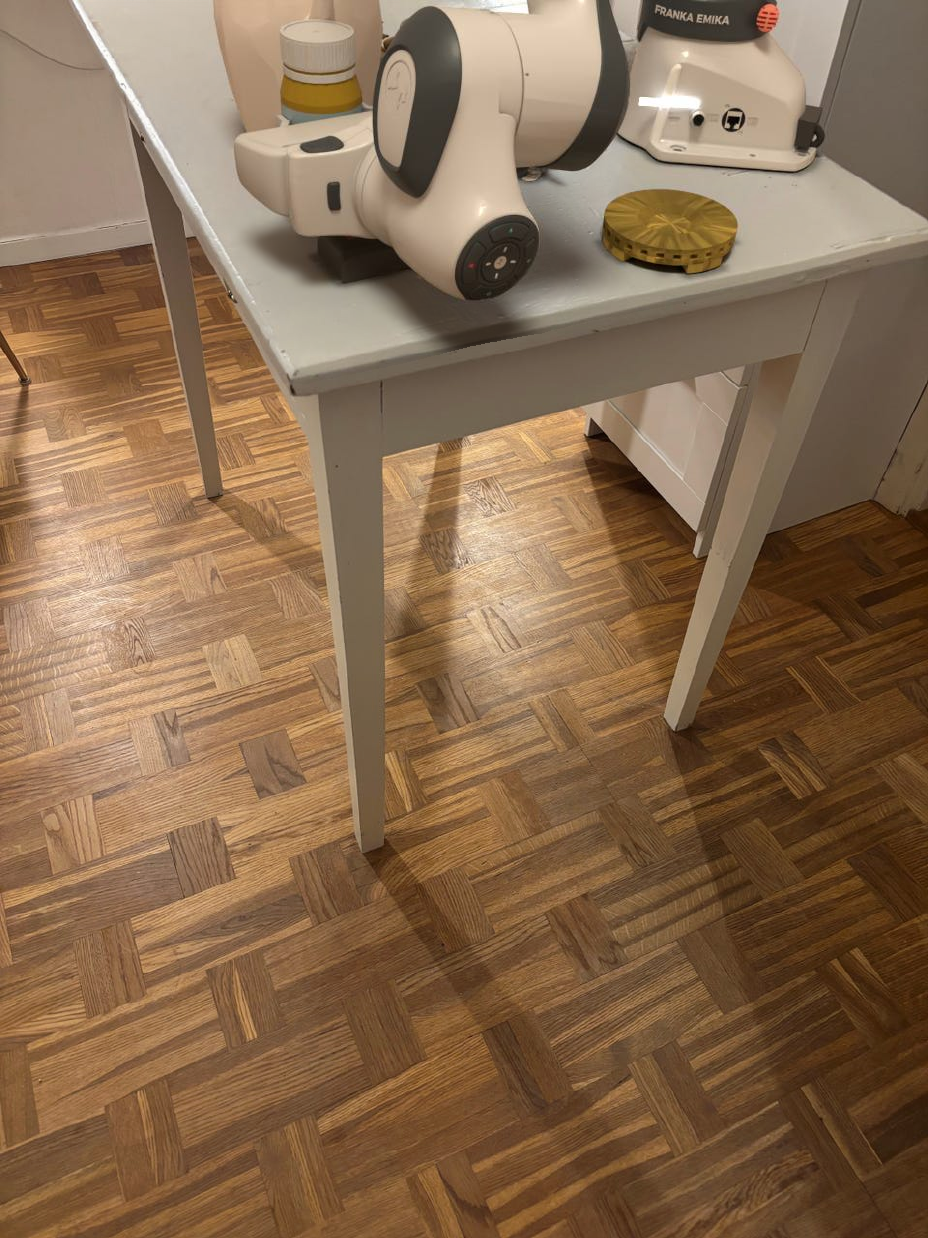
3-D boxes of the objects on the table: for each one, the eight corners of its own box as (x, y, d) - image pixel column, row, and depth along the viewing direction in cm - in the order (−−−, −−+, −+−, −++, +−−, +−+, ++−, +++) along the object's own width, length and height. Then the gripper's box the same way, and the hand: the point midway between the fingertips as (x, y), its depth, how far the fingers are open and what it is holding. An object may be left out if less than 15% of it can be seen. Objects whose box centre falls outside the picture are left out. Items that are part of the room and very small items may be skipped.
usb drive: (317, 256, 83) (315, 226, 81) (436, 229, 87) (437, 199, 85) (343, 283, 80) (341, 252, 78) (465, 253, 84) (466, 223, 82)
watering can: (260, 214, 88) (232, -24, 74) (214, 109, 105) (184, -102, 91) (420, 197, 92) (421, -33, 78) (351, 98, 109) (342, -106, 95)
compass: (618, 203, 92) (621, 180, 91) (741, 224, 90) (746, 201, 88) (587, 258, 85) (590, 235, 83) (720, 283, 82) (726, 260, 81)
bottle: (328, 188, 92) (317, 12, 81) (381, 210, 90) (377, 31, 78) (275, 211, 89) (256, 29, 78) (329, 235, 86) (316, 50, 75)
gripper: (504, 114, 78) (420, 61, 85) (272, 158, 70) (203, 95, 77) (499, 191, 82) (420, 135, 90) (281, 241, 74) (215, 174, 82)
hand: (318, 117), depth 84 cm, fingers closed on bottle, 5 cm apart
